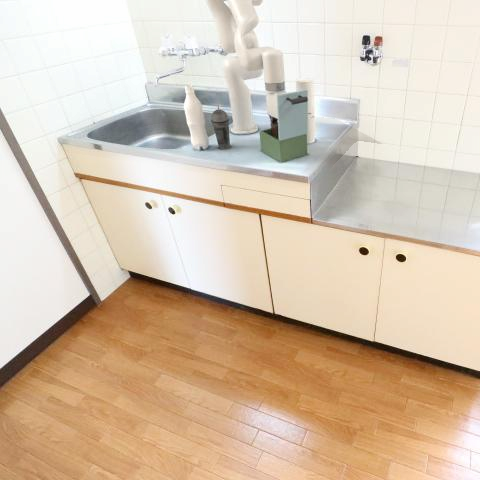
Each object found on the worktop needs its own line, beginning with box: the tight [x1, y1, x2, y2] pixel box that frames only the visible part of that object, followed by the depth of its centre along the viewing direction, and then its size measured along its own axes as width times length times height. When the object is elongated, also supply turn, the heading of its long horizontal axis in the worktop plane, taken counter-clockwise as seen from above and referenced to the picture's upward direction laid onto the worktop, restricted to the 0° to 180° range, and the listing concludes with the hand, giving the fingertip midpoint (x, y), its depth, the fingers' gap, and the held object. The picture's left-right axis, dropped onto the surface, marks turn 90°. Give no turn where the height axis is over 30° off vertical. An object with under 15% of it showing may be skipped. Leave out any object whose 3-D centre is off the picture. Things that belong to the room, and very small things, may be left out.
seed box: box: [258, 127, 309, 163], centre depth 150 cm, size 16×13×8 cm
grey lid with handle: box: [277, 90, 308, 141], centre depth 136 cm, size 16×13×6 cm
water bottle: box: [183, 84, 210, 151], centre depth 151 cm, size 7×7×25 cm
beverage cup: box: [210, 98, 231, 150], centre depth 153 cm, size 7×7×20 cm
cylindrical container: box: [295, 77, 316, 145], centre depth 156 cm, size 7×7×25 cm
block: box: [270, 122, 279, 137], centre depth 149 cm, size 4×4×4 cm
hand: (279, 133), depth 150 cm, fingers closed on block, 4 cm apart
